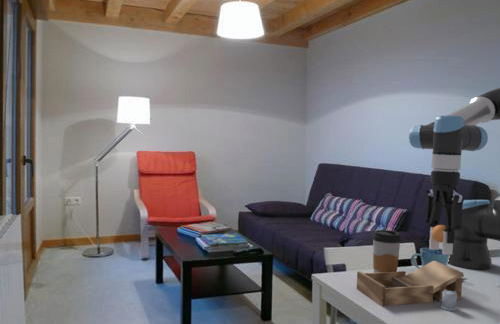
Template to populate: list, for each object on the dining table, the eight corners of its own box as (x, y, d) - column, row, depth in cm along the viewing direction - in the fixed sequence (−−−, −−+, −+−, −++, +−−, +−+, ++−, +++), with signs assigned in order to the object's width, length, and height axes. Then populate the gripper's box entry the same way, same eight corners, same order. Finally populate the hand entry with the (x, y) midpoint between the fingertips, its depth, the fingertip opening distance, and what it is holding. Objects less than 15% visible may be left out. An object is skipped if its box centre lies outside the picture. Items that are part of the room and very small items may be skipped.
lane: (432, 284, 132) (434, 259, 132) (464, 299, 119) (465, 273, 119) (356, 288, 126) (357, 262, 125) (381, 305, 113) (382, 277, 113)
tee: (450, 304, 115) (450, 288, 115) (460, 310, 111) (461, 294, 111) (437, 305, 114) (437, 289, 114) (447, 311, 110) (448, 294, 110)
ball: (427, 240, 126) (428, 223, 126) (442, 240, 127) (443, 223, 127) (439, 244, 121) (440, 226, 121) (454, 244, 122) (455, 226, 122)
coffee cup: (395, 277, 137) (397, 230, 137) (401, 286, 129) (404, 236, 128) (368, 275, 138) (370, 229, 137) (373, 284, 130) (375, 234, 129)
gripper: (480, 173, 115) (474, 259, 116) (436, 168, 133) (431, 244, 134) (456, 172, 114) (451, 260, 115) (414, 167, 131) (409, 244, 132)
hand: (440, 251), depth 124 cm, fingers closed on ball, 5 cm apart
